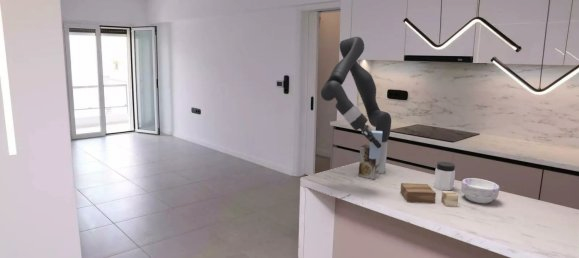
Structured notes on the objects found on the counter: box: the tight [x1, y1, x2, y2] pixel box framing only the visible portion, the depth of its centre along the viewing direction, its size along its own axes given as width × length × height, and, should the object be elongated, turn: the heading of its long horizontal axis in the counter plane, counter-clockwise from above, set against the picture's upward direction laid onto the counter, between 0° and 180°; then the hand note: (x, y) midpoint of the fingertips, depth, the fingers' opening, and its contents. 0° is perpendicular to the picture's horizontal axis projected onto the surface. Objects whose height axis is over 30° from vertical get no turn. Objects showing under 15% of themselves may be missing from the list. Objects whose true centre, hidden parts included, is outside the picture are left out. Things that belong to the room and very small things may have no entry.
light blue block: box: [369, 129, 382, 159], centre depth 183 cm, size 5×5×12 cm
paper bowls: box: [460, 177, 500, 204], centre depth 179 cm, size 15×15×8 cm
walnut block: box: [399, 182, 437, 204], centre depth 179 cm, size 12×12×5 cm
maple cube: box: [440, 190, 459, 207], centre depth 173 cm, size 5×5×5 cm
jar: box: [433, 161, 456, 191], centre depth 194 cm, size 9×8×12 cm
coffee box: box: [358, 144, 380, 180], centre depth 208 cm, size 9×6×16 cm
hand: (379, 145), depth 182 cm, fingers closed on light blue block, 5 cm apart
